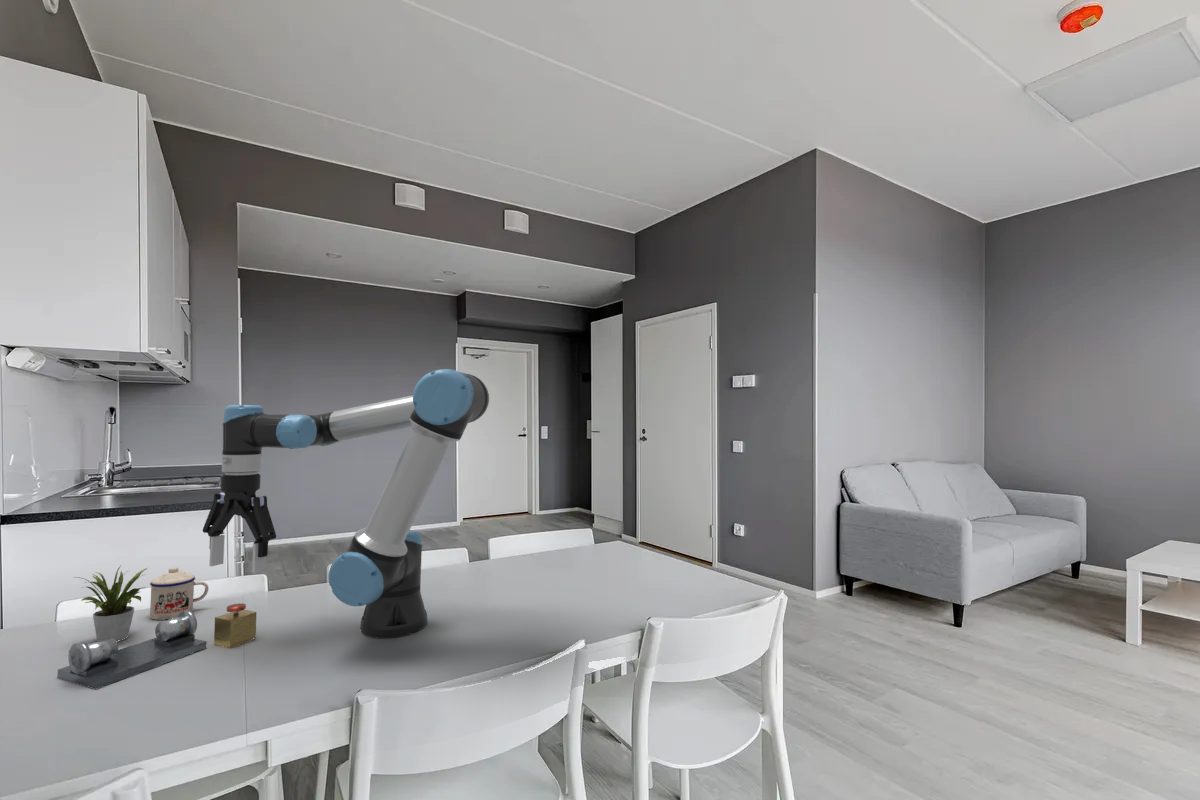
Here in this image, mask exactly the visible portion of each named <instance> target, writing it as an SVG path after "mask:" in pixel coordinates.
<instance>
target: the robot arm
mask: <svg viewBox="0 0 1200 800" xmlns="http://www.w3.org/2000/svg"><path fill="white" fill-rule="evenodd" d="M489 402H490V394H489V391H488V388H487V386H486V385H485V383H484V382H483V381H482V380H481V378H479V377H478V376H475V375H473V374H470V373H465V372H463V371H459V370H455V369H453V368H451V369H450V368H444V369H436V370H431V371H430V372H428V373H427V374H425V375H423V376H422V377H421V378H420V379H419V380H418V381H417V383H416V385H415V387H414V389H413V392H412V395H408V396H403V397H402V396H401V397H398V398H393V399H387V400H383V401H379V402H374V403H368V404H365V405H358V406H354V407H349V408H345V409H339V410H335V411H330V412H325V413H320V414H294V413H292V414H291V413H290V414H287V413H284V414H278V413H277V414H273V413H272V414H266V413H264V407H263V406H262V405H255V404H253V405H252V404H230V405H227V406H226V407H225V408H224V414H223V421H222V453H221V454H222V455H221V456H222V457H221V458H222V459H221V472H222V473H223V474H222V475H220V491H221V492H217V493H214V495H213V501H212V502H213V503H212V505H211V508H210V510H209V512H208V515H207V517H206V520H205V522H204V525H203V527H202V532H203V533H204V534H208V537H209V546H208V547H209V567H215V566H219V565H223V564H224V558H225V557H224V556H225V555H224V554H225V529H226V528H227V526H228V525H229V523H230V521H231V520H232V519H233V517H234V516H241V518H242V519H244V520H245V522H246V524H247V526H248V528H249V530H250V532H251V534H252V536H253V537H254V539H255V541H254V542H253V543H252V559H251V561H252V563H251V565H252V566H251V574H258V573H261V572H266V571H267V556H268V554H269V542H270V541H271V540H274V539H277V534H276V530H275V527H274V524H273V520H272V517H271V513H270V511H269V508H268V497H267V496H266V495H262V496H260V495H259V496H257V495H256V492H257V491H258V490H260V488H261V474H260V473H258V472H260V471H262V450H263V449H262V448H277V449H278V448H280V449H290V450H294V449H295V450H296V449H306V448H308V447H315V446H321V447H324V446H330V445H332V444H336V443H339V442H343V441H348V440H353V439H358V438H364V437H369V436H373V435H377V434H382V433H383V434H384V433H389V432H392V431H393V432H394V431H396V430H397V431H398V430H403V429H407V428H408V429H409V428H412V430H411V431H410V434H409V436H408V438H407V440H406V442H405V444H404V445H403V448H402V451H401V453H400V455H399V457H398V459H397V462H396V463H395V466H394V468H393V470H392V471H391V474H390V477H389V478H388V480H387V482H386V484H385V486H384V489H383V491H382V493H381V496H379V500H378V501H377V504H376V506H375V508H374V509H373V512H372V514H371V516H370V518H369V521H368V523H367V525H366V527H363V528H361V529H358V530H357V531H356V532H355V534H354V535H353V537H352V539H351V542H350V544H349V546H348V547H347V550H346V552H344V553H342V554H340V555H338V557H337V558H335V559H334V560H333V562H332V563H331V565H330V567H329V572H328V585H329V586H330V588H331V592H332V594H333V595H334V596H335V597H336V599H337V600H339V601H340V602H342V603H343V604H345V605H347V606H351V607H363V606H365V607H364V610H363V613H362V617H361V619H360V628H359V629H360V630H361V631H360V633H361V632H362V633H363V634H362V633H361V634H362V635H364V634H365V635H364V636H366V635H367V637H370V636H371V638H376V637H377V639H378V638H379V639H390V638H399V637H403V636H409V635H412V634H414V633H417V632H419V631H422V630H423V629H424V628H425V627H426V626H427V624H428V612H427V610H426V609H425V604H424V599H423V596H422V593H421V584H422V583H421V581H422V580H421V579H422V578H421V577H422V553H423V552H422V550H423V542H422V535H421V533H420V531H418V530H411V528H412V527H413V524H414V521H415V519H416V517H417V515H418V513H419V512H420V509H421V507H422V504H423V503H424V501H425V499H426V497H427V494H428V492H429V490H430V488H431V486H432V483H433V482H434V479H435V477H436V475H437V473H438V471H439V469H440V467H441V464H442V463H443V460H444V458H445V456H446V454H447V452H448V450H449V448H450V445H451V444H454V443H456V442H459V441H460V440H461V439H462V436H463V434H464V432H465V430H466V428H467V427H468V424H469V423H474V422H476V421H477V420H479V419H480V418H481V417H483V415H484V414H485V413H486V412H487V410H488V407H489Z"/></svg>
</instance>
